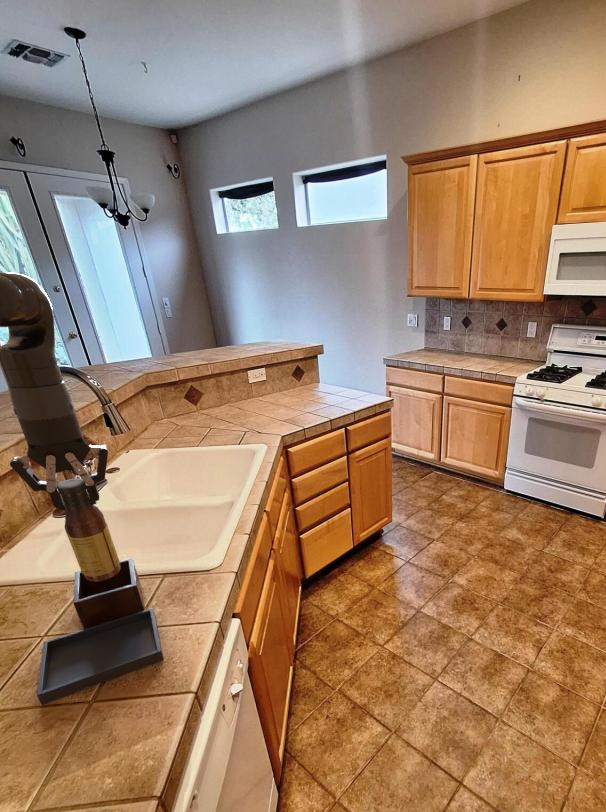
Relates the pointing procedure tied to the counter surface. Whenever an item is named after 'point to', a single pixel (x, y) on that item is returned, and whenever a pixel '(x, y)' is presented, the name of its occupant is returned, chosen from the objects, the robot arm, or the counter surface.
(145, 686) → the counter surface
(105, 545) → the sauce bottle
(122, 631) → the tray
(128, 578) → the caddy
